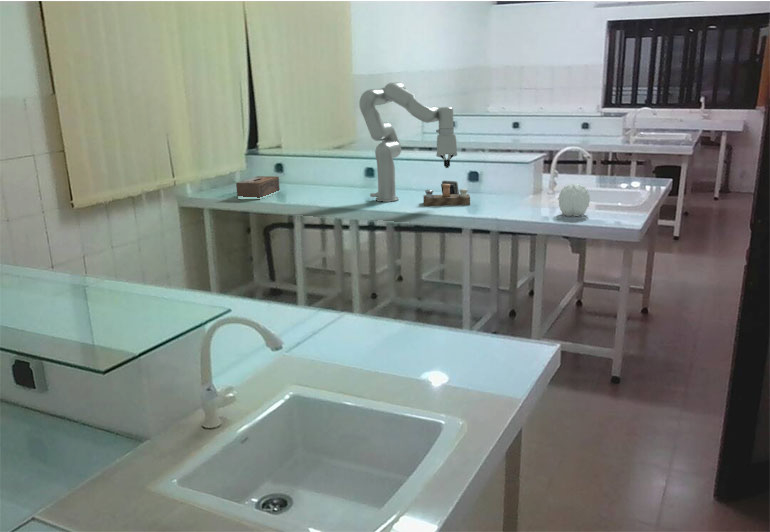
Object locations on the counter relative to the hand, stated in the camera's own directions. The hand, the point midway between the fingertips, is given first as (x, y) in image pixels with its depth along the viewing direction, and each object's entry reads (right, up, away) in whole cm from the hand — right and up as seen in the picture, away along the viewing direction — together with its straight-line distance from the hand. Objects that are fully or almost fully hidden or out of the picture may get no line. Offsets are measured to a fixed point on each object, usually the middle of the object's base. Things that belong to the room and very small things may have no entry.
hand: (447, 167), depth 339 cm
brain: (+57, -27, -31) cm, 70 cm away
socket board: (0, -18, +5) cm, 19 cm away
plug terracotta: (0, -15, +5) cm, 16 cm away
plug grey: (-9, -18, +6) cm, 21 cm away
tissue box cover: (-107, -10, +50) cm, 118 cm away
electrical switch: (+4, -13, +25) cm, 28 cm away
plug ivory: (+9, -18, +5) cm, 21 cm away
